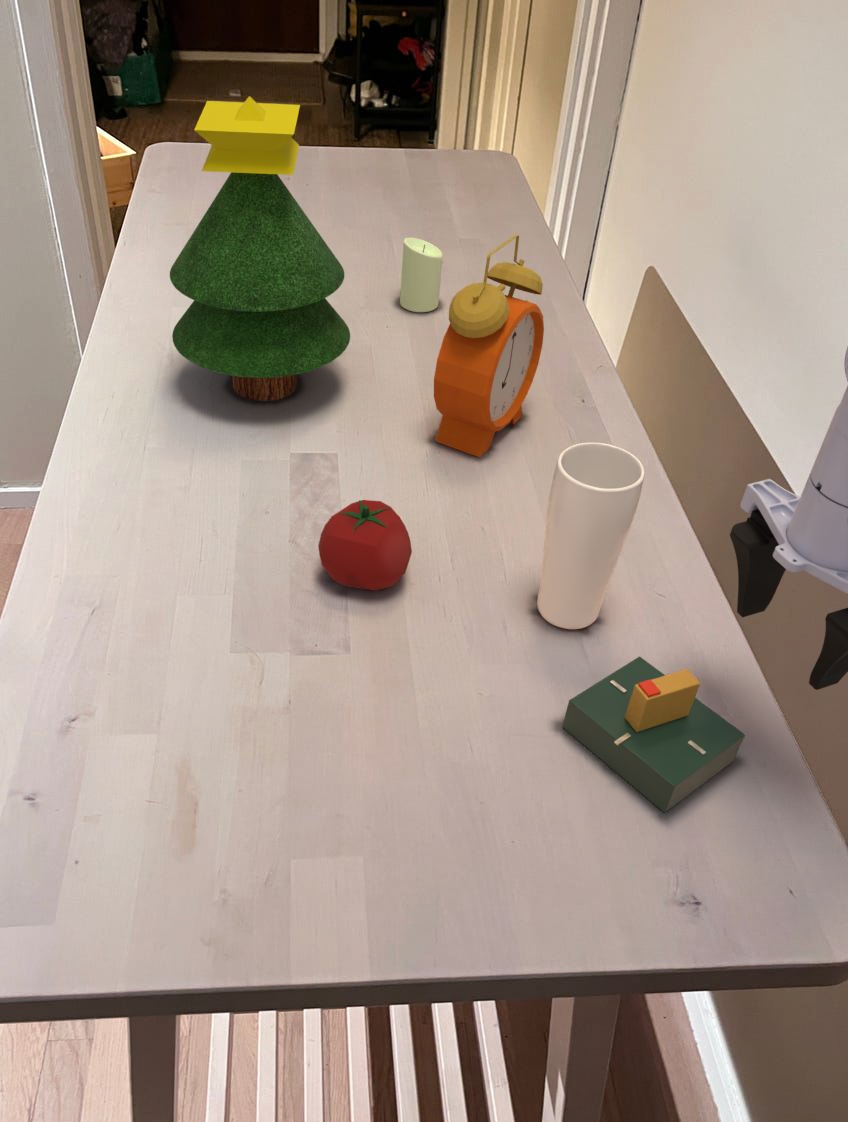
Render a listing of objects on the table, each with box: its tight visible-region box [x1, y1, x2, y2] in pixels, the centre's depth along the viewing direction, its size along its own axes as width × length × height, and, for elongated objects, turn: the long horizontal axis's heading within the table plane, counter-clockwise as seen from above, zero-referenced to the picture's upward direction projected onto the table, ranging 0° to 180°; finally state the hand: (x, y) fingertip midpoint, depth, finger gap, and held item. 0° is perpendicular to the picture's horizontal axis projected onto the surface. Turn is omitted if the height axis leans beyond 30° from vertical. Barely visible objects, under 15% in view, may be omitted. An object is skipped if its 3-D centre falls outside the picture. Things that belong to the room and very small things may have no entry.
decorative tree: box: [169, 95, 351, 402], centre depth 102 cm, size 19×19×30 cm
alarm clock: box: [433, 234, 545, 458], centre depth 100 cm, size 13×6×20 cm, turn 148°
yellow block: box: [625, 668, 701, 732], centre depth 72 cm, size 5×2×4 cm, turn 113°
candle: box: [399, 237, 444, 313], centre depth 126 cm, size 5×5×8 cm
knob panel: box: [561, 656, 746, 813], centre depth 74 cm, size 10×9×3 cm
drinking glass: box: [536, 442, 646, 630], centre depth 81 cm, size 7×7×15 cm
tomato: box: [317, 499, 413, 591], centre depth 86 cm, size 8×8×7 cm
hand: (785, 645), depth 70 cm, fingers open, 7 cm apart
